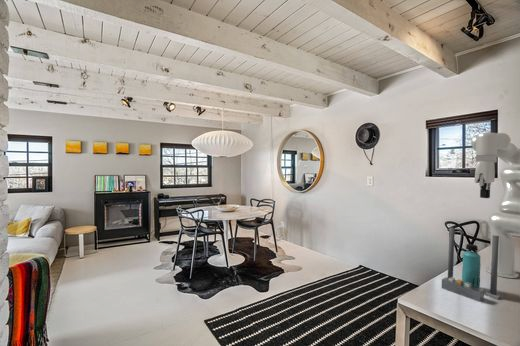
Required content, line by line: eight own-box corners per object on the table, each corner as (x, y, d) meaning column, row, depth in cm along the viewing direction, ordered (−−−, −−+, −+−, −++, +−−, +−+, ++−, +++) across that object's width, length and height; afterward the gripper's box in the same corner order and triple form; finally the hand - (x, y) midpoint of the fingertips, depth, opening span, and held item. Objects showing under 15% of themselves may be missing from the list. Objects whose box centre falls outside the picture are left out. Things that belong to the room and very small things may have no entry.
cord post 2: (488, 293, 114) (491, 234, 113) (500, 297, 110) (503, 236, 110) (485, 295, 111) (487, 235, 111) (497, 299, 108) (500, 237, 107)
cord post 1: (447, 279, 127) (449, 226, 127) (456, 282, 124) (458, 228, 123) (443, 281, 125) (445, 227, 124) (453, 284, 122) (455, 229, 121)
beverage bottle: (472, 292, 114) (474, 247, 113) (457, 286, 120) (459, 243, 119) (483, 291, 115) (485, 246, 115) (468, 284, 122) (469, 242, 121)
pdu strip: (445, 285, 120) (446, 274, 120) (483, 299, 108) (484, 287, 108) (441, 287, 118) (441, 276, 118) (479, 301, 106) (480, 289, 106)
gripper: (482, 159, 130) (481, 196, 131) (469, 159, 122) (468, 198, 123) (502, 159, 124) (500, 197, 124) (490, 159, 116) (489, 200, 116)
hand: (484, 197), depth 123 cm, fingers closed
